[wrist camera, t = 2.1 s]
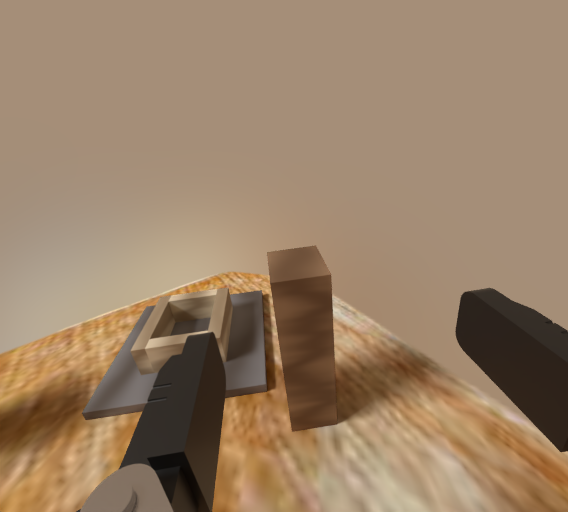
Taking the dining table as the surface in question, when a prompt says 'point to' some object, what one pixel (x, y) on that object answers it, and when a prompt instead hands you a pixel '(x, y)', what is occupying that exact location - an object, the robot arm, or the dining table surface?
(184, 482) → the robot arm
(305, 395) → the walnut slat
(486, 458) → the dining table surface
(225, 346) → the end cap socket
